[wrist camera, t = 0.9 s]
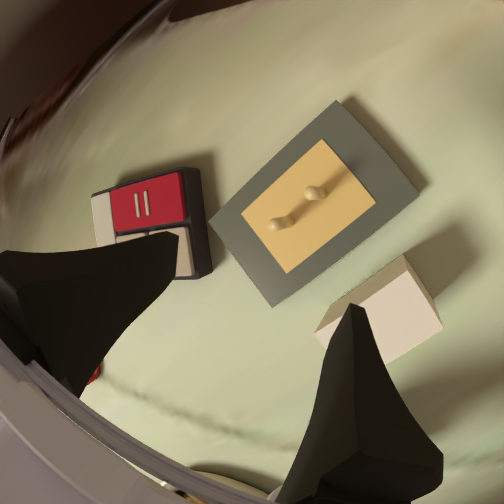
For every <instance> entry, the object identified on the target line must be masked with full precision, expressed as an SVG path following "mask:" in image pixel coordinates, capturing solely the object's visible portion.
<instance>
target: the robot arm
mask: <svg viewBox="0 0 504 504" xmlns="http://www.w3.org/2000/svg"><path fill="white" fill-rule="evenodd" d="M178 244H179V235H176V234H174V233H171V232H169V231H163V232H158V233H154V234H150V235H146V236H142V237H139V238H135V239H131V240H127V241H123V242H119V243H115V244H111V245H106V246H102V247H97V248H92V249H85V250H79V251H68V252H56V253H31V252H19V251H9V250H6V251H4V252H2V253H0V416H1V417H2V418H1V419H0V504H194V503H192V502H190V501H188V500H187V499H185V498H183V497H181V496H179V495H177V494H176V493H174V492H172V491H170V490H169V489H167V488H165V487H163V486H162V485H160V484H158V483H157V482H155V481H153V480H152V479H150V478H149V477H147V476H145V475H144V474H142V473H141V472H139V471H138V470H136V469H135V468H134V467H132V466H131V465H130V464H129V463H127V462H126V461H125V460H124V459H122V458H121V457H120V456H122V457H123V458H125V459H126V460H128V461H129V462H131V463H133V464H134V465H136V466H138V467H139V468H141V469H143V470H144V471H146V472H148V473H149V474H151V475H153V476H155V477H157V478H158V479H160V480H162V481H164V482H166V483H168V484H170V485H172V486H173V487H175V488H177V489H179V490H181V491H184V492H186V493H188V494H190V495H192V496H194V497H196V498H199V499H201V500H203V501H205V502H208V503H210V504H411V501H413V500H415V499H418V498H420V497H422V496H424V495H426V494H428V493H430V492H432V491H434V490H435V489H436V488H437V487H438V486H439V485H440V484H441V483H442V480H443V453H442V452H441V451H440V450H439V449H438V448H437V446H436V445H435V444H434V443H433V442H432V441H431V440H430V439H429V437H428V436H427V435H426V434H425V432H424V431H423V430H422V428H421V427H420V426H419V424H418V423H417V422H416V420H415V419H414V417H413V416H412V414H411V413H410V411H409V410H408V408H407V407H406V405H405V403H404V402H403V400H402V399H401V397H400V395H399V393H398V391H397V390H396V388H395V386H394V384H393V382H392V380H391V378H390V376H389V374H388V371H387V369H386V367H385V364H384V362H383V360H382V357H381V355H380V352H379V349H378V346H377V344H376V341H375V338H374V335H373V332H372V329H371V326H370V323H369V319H368V316H367V313H366V310H365V308H364V307H361V306H358V305H356V304H353V303H349V305H348V307H347V309H346V311H345V313H344V315H343V317H342V319H341V320H340V322H339V324H338V326H337V328H336V330H335V331H334V333H333V335H332V337H331V339H330V341H329V344H328V348H327V351H326V354H325V357H324V360H323V365H322V370H321V375H320V380H319V385H318V390H317V395H316V400H315V404H314V409H313V412H312V416H311V419H310V421H309V422H308V427H307V430H306V433H305V435H304V438H303V441H302V443H301V446H300V448H299V451H298V453H297V455H296V458H295V460H294V462H293V465H292V467H291V469H290V471H289V473H288V476H287V478H286V480H285V482H284V484H283V485H281V486H279V487H278V488H277V489H275V490H274V491H273V492H272V493H271V494H270V495H269V496H268V497H267V499H263V498H260V497H257V496H255V495H252V494H249V493H246V492H243V491H241V490H238V489H235V488H233V487H230V486H228V485H225V484H223V483H221V482H218V481H216V480H214V479H211V478H209V477H207V476H205V475H202V474H200V473H198V472H196V471H194V470H192V469H190V468H188V467H186V466H184V465H182V464H180V463H178V462H176V461H174V460H172V459H170V458H168V457H166V456H164V455H163V454H161V453H159V452H157V451H155V450H154V449H152V448H150V447H149V446H147V445H145V444H143V443H142V442H140V441H138V440H137V439H135V438H134V437H132V436H130V435H129V434H127V433H126V432H124V431H123V430H121V429H120V428H118V427H117V426H115V425H114V424H112V423H111V422H109V421H108V420H106V419H105V418H104V417H102V416H101V415H99V414H98V413H97V412H95V411H94V410H93V409H91V408H90V407H89V406H87V405H86V404H85V403H83V402H82V401H81V400H79V398H80V396H81V394H82V392H83V391H84V389H85V387H86V385H87V384H88V382H89V380H90V378H91V377H92V375H93V374H94V372H95V370H96V369H97V367H98V366H99V364H100V363H101V361H102V360H103V358H104V357H105V356H106V354H107V353H108V351H109V350H110V349H111V347H112V346H113V345H114V343H115V342H116V341H117V339H118V338H119V337H120V336H121V334H122V333H123V332H124V331H125V330H126V328H127V327H128V326H129V325H130V324H131V323H132V322H133V321H134V320H135V319H136V318H137V317H138V316H139V315H140V314H141V313H142V312H143V311H144V310H145V309H146V308H148V307H149V306H150V305H151V304H152V303H153V302H154V301H155V300H156V299H157V298H158V297H159V296H160V295H161V294H162V293H163V292H164V290H165V289H166V288H167V287H168V285H169V284H170V283H171V281H172V280H173V279H174V277H175V276H176V267H177V255H178ZM61 411H62V412H63V413H64V414H65V415H64V414H63V413H62V412H61ZM67 416H68V417H69V418H70V419H71V420H70V419H69V418H68V417H67ZM73 421H74V422H75V423H76V424H75V423H74V422H73ZM78 425H79V426H80V427H81V428H80V427H79V426H78ZM83 429H84V430H85V431H84V430H83ZM87 432H88V433H89V434H90V435H89V434H88V433H87ZM91 435H92V436H93V437H94V438H93V437H92V436H91ZM95 438H96V439H97V440H96V439H95ZM99 441H100V442H101V443H100V442H99ZM102 443H103V444H104V445H103V444H102ZM106 446H107V447H108V448H107V447H106ZM109 448H110V449H111V450H113V451H114V452H116V453H117V454H119V455H120V456H118V455H117V454H115V453H114V452H113V451H111V450H110V449H109Z"/></svg>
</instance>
